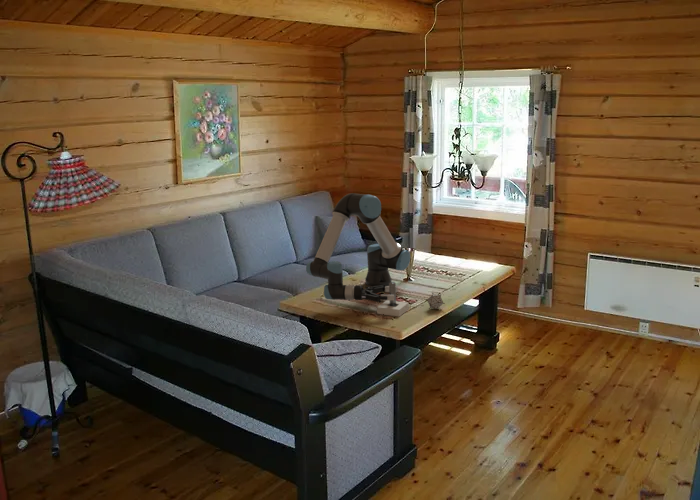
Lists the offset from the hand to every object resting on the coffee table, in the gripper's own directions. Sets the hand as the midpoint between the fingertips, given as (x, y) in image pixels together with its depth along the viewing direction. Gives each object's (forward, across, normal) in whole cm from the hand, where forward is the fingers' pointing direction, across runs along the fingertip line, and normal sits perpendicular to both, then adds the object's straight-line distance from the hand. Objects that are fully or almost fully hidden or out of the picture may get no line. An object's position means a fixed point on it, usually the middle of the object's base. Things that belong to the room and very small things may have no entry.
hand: (396, 293), depth 340 cm
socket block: (-2, 0, -10) cm, 10 cm away
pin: (-2, 0, -10) cm, 10 cm away
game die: (+19, -6, -10) cm, 22 cm away
